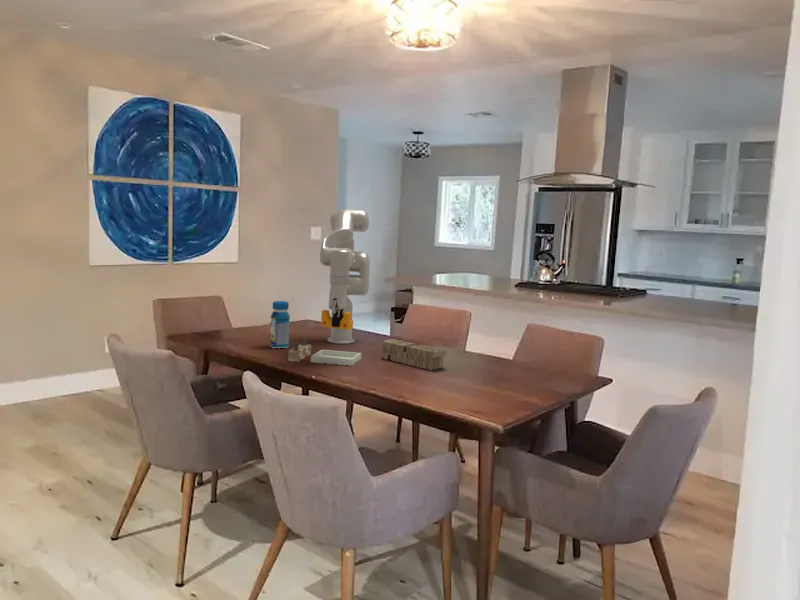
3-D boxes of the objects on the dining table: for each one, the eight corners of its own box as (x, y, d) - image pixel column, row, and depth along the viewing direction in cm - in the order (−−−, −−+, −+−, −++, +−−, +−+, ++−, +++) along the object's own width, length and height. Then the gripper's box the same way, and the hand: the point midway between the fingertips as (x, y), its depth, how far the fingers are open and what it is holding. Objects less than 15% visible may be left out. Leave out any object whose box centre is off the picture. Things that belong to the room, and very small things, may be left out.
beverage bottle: (283, 350, 273) (284, 303, 271) (266, 347, 276) (267, 302, 274) (292, 346, 281) (294, 301, 279) (275, 344, 284) (276, 300, 281)
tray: (321, 355, 266) (321, 349, 266) (361, 358, 263) (361, 352, 262) (310, 362, 252) (310, 356, 252) (352, 366, 249) (352, 359, 249)
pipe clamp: (352, 328, 256) (353, 312, 255) (347, 329, 252) (348, 313, 251) (326, 325, 260) (326, 309, 260) (321, 326, 256) (321, 310, 256)
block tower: (379, 360, 267) (433, 371, 247) (380, 340, 266) (433, 350, 246) (392, 358, 272) (446, 368, 253) (393, 338, 272) (446, 347, 252)
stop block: (301, 353, 268) (302, 336, 268) (310, 354, 268) (311, 337, 267) (288, 360, 253) (288, 343, 252) (297, 361, 252) (298, 344, 251)
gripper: (336, 278, 263) (334, 322, 265) (323, 281, 246) (322, 328, 248) (353, 279, 261) (352, 323, 263) (342, 282, 245) (340, 329, 247)
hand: (337, 325), depth 256 cm, fingers closed on pipe clamp, 4 cm apart
